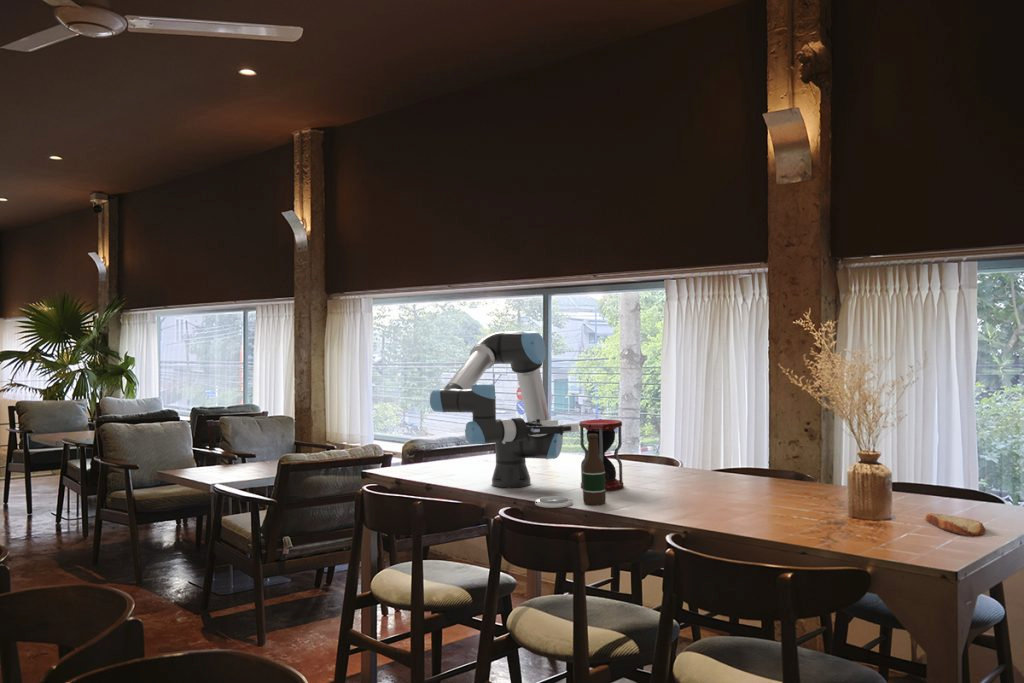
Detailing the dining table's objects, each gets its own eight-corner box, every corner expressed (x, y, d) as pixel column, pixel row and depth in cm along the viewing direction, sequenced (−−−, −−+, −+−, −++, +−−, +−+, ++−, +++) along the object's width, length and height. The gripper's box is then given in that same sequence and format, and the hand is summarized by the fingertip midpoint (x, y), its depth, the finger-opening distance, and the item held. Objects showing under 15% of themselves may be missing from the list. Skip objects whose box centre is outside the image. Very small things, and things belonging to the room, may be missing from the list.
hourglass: (580, 491, 305) (578, 424, 304) (581, 483, 321) (579, 419, 320) (624, 491, 303) (622, 423, 303) (622, 482, 319) (621, 418, 319)
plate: (535, 499, 292) (535, 496, 292) (572, 499, 291) (572, 495, 291) (534, 508, 279) (534, 503, 279) (573, 507, 278) (572, 503, 278)
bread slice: (927, 518, 253) (927, 506, 253) (994, 526, 241) (994, 513, 241) (910, 530, 240) (910, 517, 239) (980, 539, 228) (979, 526, 228)
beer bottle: (604, 505, 280) (603, 435, 279) (581, 505, 281) (580, 435, 281) (606, 501, 287) (605, 432, 287) (584, 500, 289) (582, 432, 288)
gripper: (495, 437, 281) (549, 433, 290) (529, 445, 258) (587, 440, 268) (495, 415, 281) (549, 411, 290) (529, 421, 258) (586, 417, 268)
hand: (567, 425), depth 279 cm, fingers open, 13 cm apart
